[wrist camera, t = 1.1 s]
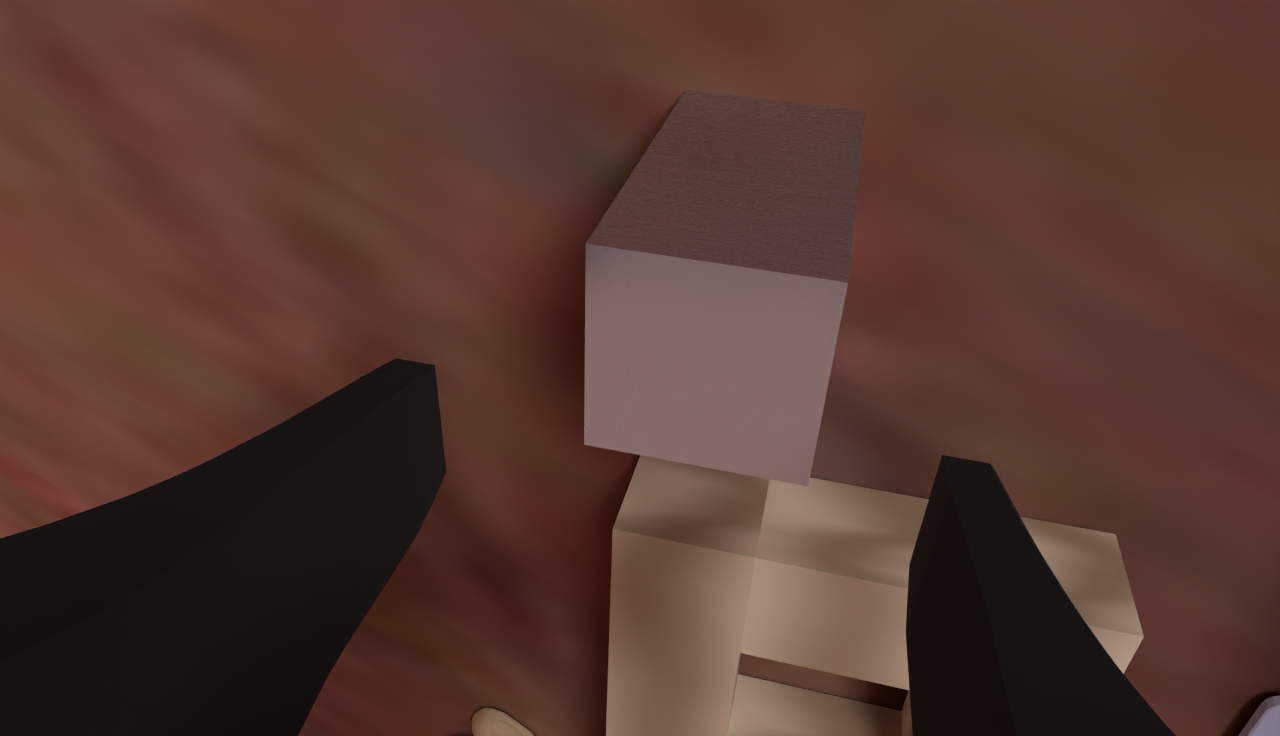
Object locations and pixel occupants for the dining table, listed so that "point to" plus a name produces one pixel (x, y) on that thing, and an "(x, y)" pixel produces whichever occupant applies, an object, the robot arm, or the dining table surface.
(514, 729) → the grandmother figurine
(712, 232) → the steel peg
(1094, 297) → the dining table surface
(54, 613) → the robot arm
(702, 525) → the maple hole block
